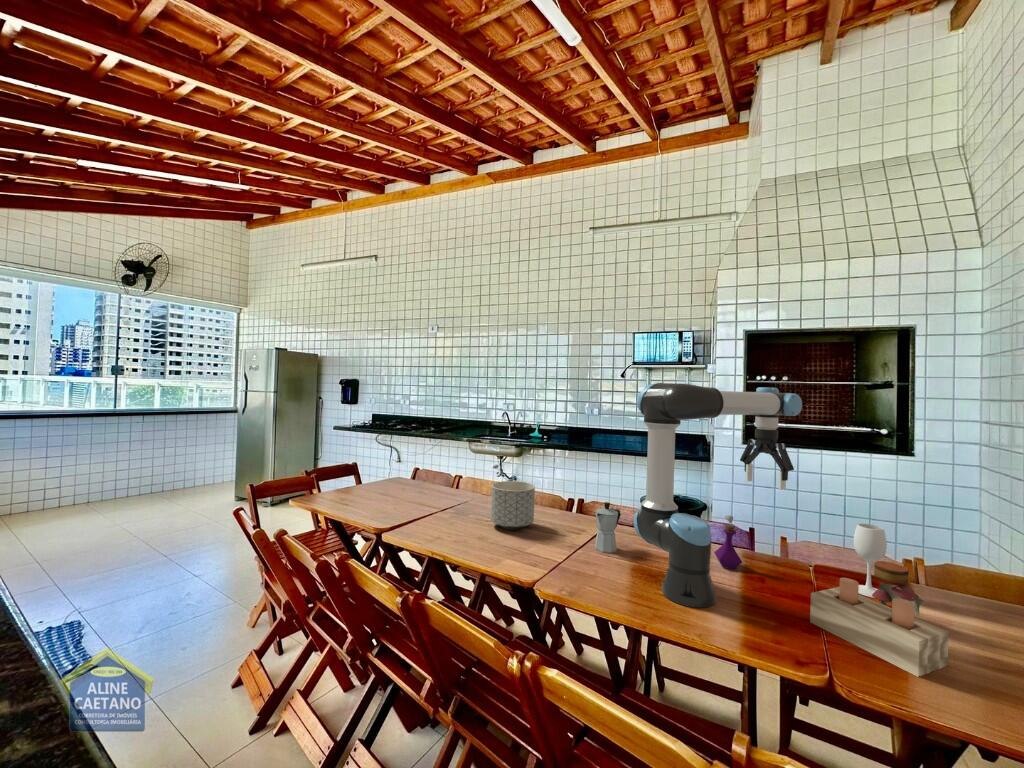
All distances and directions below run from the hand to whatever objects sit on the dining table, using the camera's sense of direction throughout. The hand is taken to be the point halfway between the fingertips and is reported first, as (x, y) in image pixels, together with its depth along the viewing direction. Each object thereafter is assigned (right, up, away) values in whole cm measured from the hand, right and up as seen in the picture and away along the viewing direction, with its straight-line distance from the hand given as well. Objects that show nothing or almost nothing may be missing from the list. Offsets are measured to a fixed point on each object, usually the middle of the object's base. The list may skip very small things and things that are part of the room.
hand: (764, 485), depth 165 cm
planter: (-95, -25, +29) cm, 103 cm away
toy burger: (+12, -29, -42) cm, 52 cm away
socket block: (-3, -28, -53) cm, 60 cm away
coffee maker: (-58, -26, +7) cm, 64 cm away
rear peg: (-5, -22, -48) cm, 53 cm away
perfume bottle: (-18, -28, -7) cm, 34 cm away
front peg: (-1, -23, -59) cm, 63 cm away
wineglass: (+19, -29, -25) cm, 42 cm away
